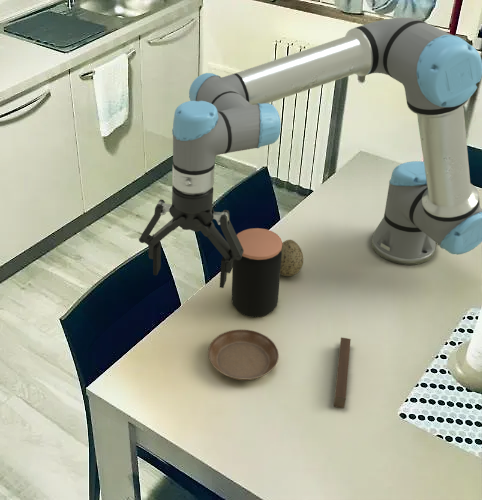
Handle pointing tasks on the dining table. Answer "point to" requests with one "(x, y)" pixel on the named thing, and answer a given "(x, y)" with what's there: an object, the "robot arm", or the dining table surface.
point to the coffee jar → (257, 273)
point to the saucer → (243, 354)
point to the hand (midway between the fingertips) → (189, 277)
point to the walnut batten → (342, 373)
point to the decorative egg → (291, 258)
